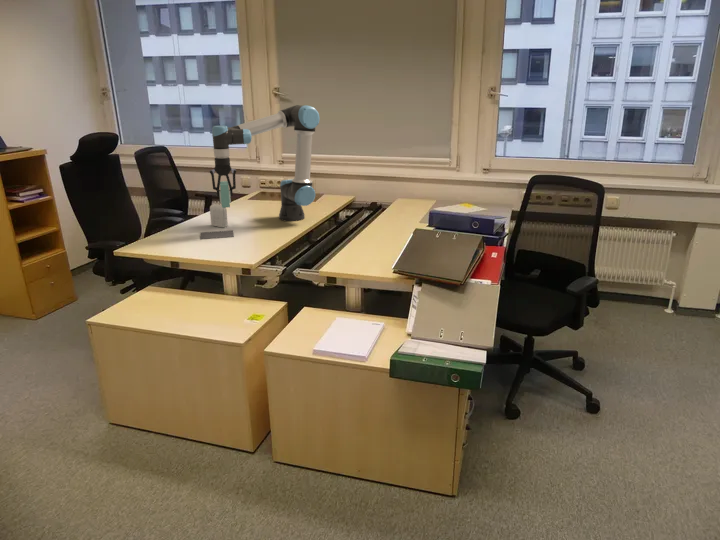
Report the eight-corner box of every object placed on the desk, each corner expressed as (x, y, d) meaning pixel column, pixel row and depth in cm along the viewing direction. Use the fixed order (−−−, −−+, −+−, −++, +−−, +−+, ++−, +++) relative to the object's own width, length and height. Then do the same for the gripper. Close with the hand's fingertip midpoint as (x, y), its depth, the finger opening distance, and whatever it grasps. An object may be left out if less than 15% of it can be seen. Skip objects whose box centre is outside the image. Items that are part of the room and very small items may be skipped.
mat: (233, 230, 288) (233, 230, 288) (233, 236, 276) (233, 236, 276) (200, 232, 284) (200, 232, 284) (200, 239, 272) (200, 238, 272)
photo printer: (229, 226, 297) (227, 204, 293) (223, 228, 293) (221, 206, 289) (215, 224, 302) (213, 203, 298) (210, 225, 298) (208, 204, 294)
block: (229, 203, 281) (227, 181, 277) (229, 207, 273) (228, 184, 269) (221, 204, 280) (219, 181, 276) (221, 207, 272) (220, 184, 268)
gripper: (238, 155, 274) (241, 200, 281) (204, 156, 269) (208, 201, 277) (239, 157, 267) (242, 203, 274) (204, 158, 263) (208, 204, 270)
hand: (225, 202), depth 276 cm, fingers closed on block, 4 cm apart
